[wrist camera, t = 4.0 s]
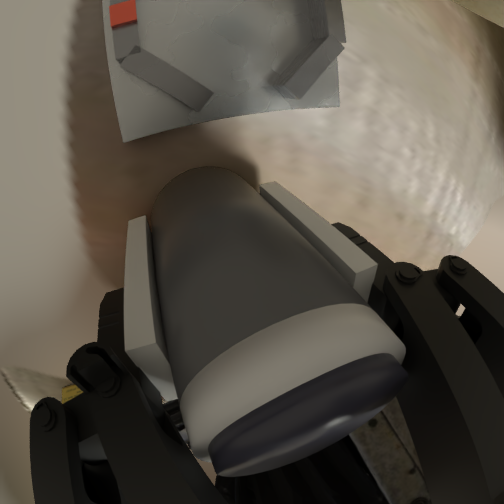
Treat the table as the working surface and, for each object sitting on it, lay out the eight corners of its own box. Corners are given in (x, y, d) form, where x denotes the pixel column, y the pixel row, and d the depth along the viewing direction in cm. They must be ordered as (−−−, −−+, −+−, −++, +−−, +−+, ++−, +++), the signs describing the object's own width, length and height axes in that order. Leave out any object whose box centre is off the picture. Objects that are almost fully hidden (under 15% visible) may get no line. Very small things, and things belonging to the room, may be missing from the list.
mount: (307, -51, 6) (337, -67, 4) (326, 104, 11) (362, 111, 9) (104, -44, 4) (98, -70, 2) (125, 138, 9) (119, 150, 7)
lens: (252, 156, 11) (455, 316, 4) (261, 250, 14) (379, 418, 7) (138, 183, 10) (155, 456, 2) (167, 277, 13) (225, 486, 5)
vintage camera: (115, 365, 16) (191, 630, 1) (323, 266, 17) (502, 528, 1) (185, 408, 22) (253, 588, 7) (335, 338, 23) (445, 512, 7)
